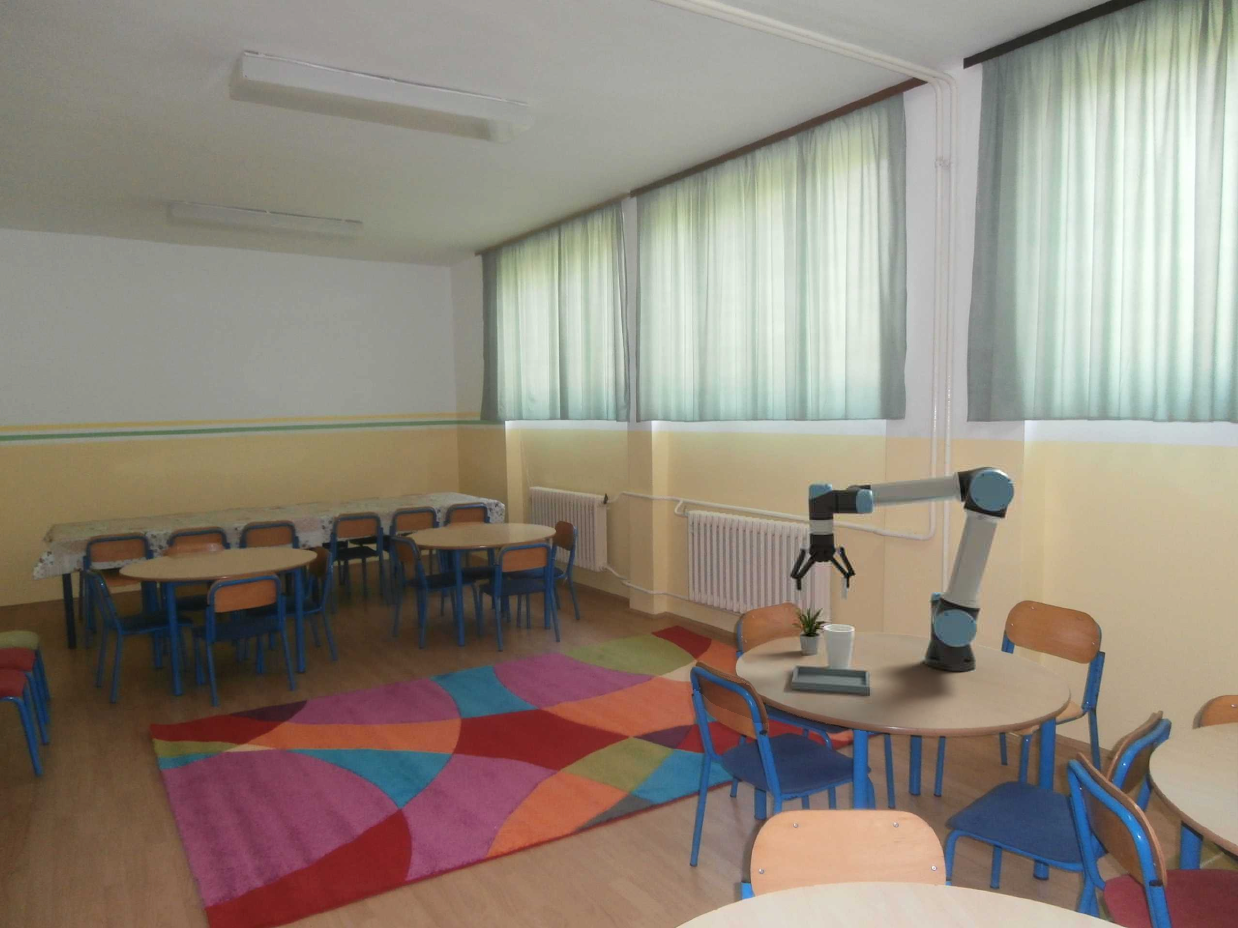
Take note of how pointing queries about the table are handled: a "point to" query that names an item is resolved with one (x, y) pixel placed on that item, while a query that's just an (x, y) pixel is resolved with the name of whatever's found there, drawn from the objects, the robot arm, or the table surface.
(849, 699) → the table surface
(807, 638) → the house plant
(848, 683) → the tray
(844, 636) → the foam cup
